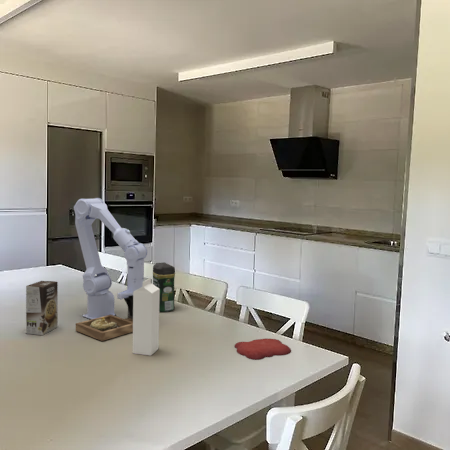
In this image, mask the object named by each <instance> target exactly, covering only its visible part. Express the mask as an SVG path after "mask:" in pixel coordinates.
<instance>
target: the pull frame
mask: <svg viewBox="0 0 450 450" xmlns="http://www.w3.org/2000/svg"><path fill="white" fill-rule="evenodd" d="M102 318H104V319H105V320H106V322H107V323H111V322H115V323H116V324H117V328H114V329H110V330H107V331H100V330H97V329H94V328H92V327H90V325H91V323H92V322H93V321H95V320H99V319H101V320H102ZM75 332H78V333H81V334H83V335H86V336H87V337H91V338H94V339H96V340H98V341H101V342H104V341H107V340H110V339H114V338H116V337H120V336H123V335H126V334H130V333H133V316H130V312H129V309H128V308H127V317H126V318H122V317H119V316H116V315H115V316H113V315H107V316H103V317H99V318H95V319H88V320H84V321H80V322H76V323H75Z"/></svg>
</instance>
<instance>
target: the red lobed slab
mask: <svg viewBox="0 0 450 450" xmlns="http://www.w3.org/2000/svg"><path fill="white" fill-rule="evenodd" d="M234 348H235V349H236V353H237V354H238V355H240V356H244V357H246V358H247V359H248V360H252V361H253V360H254V361H259V360H260V361H261V360H263V359H265V358H272V357H274V356H278V357H279V356H286V355H289V354H291V352H292V348H290V347H289V345H287V344H284V343H283V342H282V341H281V340H279V339H276V338H260V339H257V338H256V339H253V340H250V341H239V342H235V344H234Z"/></svg>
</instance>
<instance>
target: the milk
mask: <svg viewBox="0 0 450 450" xmlns="http://www.w3.org/2000/svg"><path fill="white" fill-rule="evenodd" d="M159 296H160V289H159V288H158V287H156V286H155V285H153V282H152V278H151V277H149V278H148V279H145V280H144V281H143V287H141V288H139V289H137V290H135V291H134V292H133V332H132V354H136V355H143V356H150V357H151V356H152V355H153V354H154V353H156V352H157V351H158V350H159V340H160V312H159Z"/></svg>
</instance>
